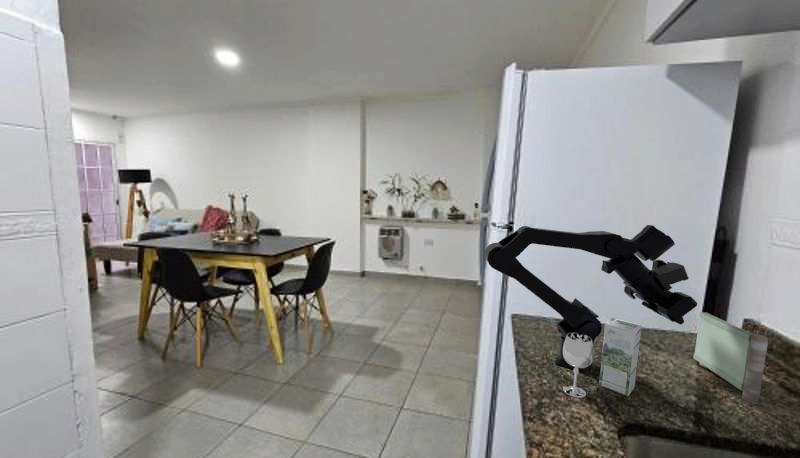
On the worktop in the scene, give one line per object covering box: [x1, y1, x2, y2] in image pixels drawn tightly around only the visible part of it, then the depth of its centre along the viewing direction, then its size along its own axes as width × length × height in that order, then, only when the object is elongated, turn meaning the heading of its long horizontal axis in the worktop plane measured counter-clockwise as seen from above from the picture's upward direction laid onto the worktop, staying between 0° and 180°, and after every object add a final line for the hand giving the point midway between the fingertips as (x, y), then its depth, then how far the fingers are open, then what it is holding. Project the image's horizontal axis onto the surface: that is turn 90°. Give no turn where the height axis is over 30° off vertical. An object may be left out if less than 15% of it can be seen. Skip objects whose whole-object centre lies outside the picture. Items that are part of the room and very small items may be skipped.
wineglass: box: [562, 333, 595, 399], centre depth 73 cm, size 6×6×12 cm
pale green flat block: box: [692, 311, 753, 391], centre depth 80 cm, size 14×2×12 cm, turn 174°
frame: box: [699, 333, 769, 405], centre depth 79 cm, size 17×4×14 cm, turn 173°
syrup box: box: [598, 317, 642, 397], centre depth 75 cm, size 6×6×14 cm
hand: (680, 322), depth 82 cm, fingers closed
